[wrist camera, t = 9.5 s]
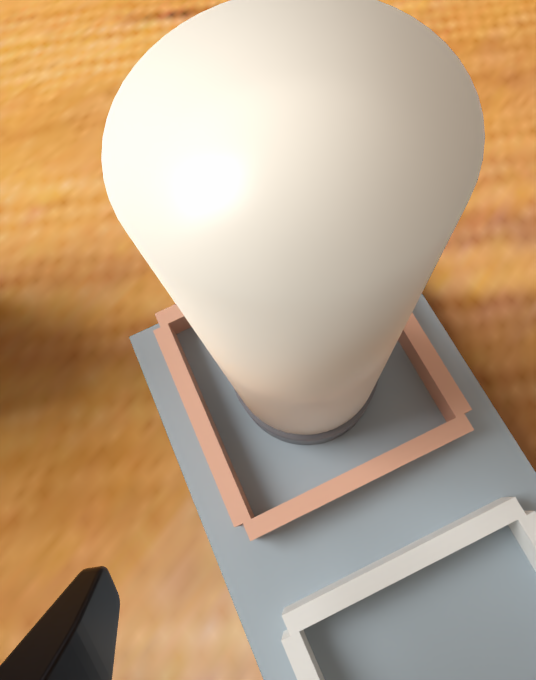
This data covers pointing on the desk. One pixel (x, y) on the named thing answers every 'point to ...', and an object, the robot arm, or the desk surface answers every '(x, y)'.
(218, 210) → the white cylinder
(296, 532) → the socket board
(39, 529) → the desk surface
